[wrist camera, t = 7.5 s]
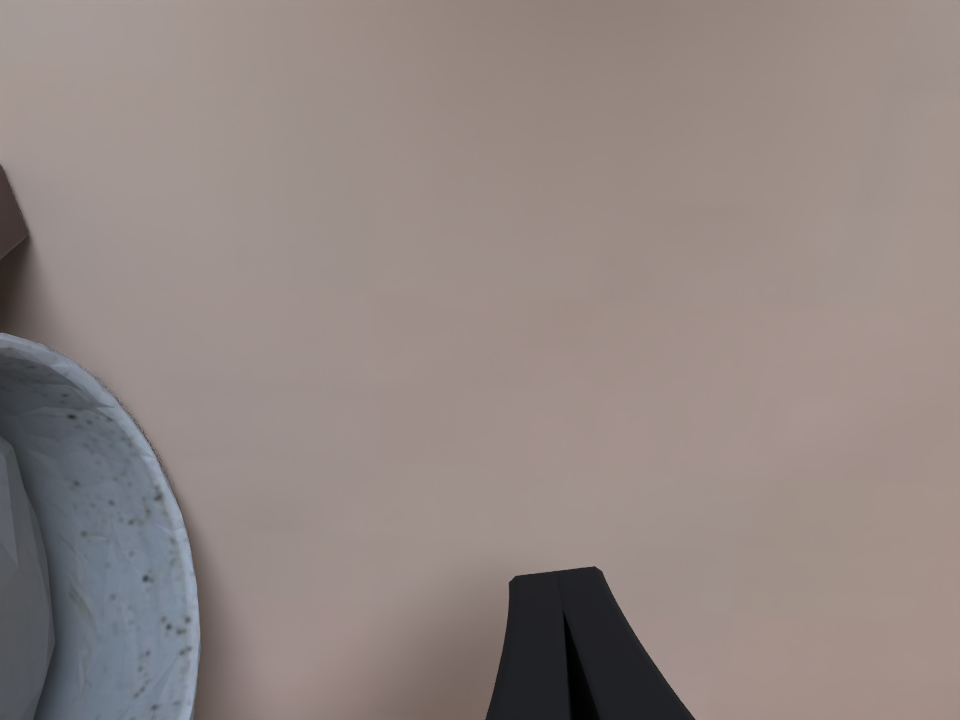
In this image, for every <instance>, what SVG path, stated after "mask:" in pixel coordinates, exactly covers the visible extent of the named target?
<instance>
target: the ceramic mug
mask: <svg viewBox="0 0 960 720" xmlns="http://www.w3.org/2000/svg"><path fill="white" fill-rule="evenodd" d="M200 621H201V618H200V611H199V603H198V596H197V576H196V572H195V568H194V564H193V560H192V555H191V549H190V543H189V537H188V533H187V530H186V527H185V524H184V521H183V517H182V514H181V511H180V509H179V506H178V504H177V501H176V498H175V496H174V493H173V491H172V488H171V486H170V483H169V481H168V479H167V477H166V475H165V473H164V471H163V469H162V467H161V465H160V463H159V461H158V460H157V458H156V456H155V454H154V452H153V450H152V448H151V446H150V445H149V443H148V441H147V439H146V438H145V436H144V435H143V433H142V432H141V431H140V429H139V428H138V426H137V425H136V423H135V422H134V420H133V419H132V417H131V416H130V414H129V413H128V412H127V411H126V410H125V409H124V408H123V407H122V406H121V404H120V403H119V401H118V400H117V398H116V397H115V396H114V395H113V394H112V393H111V392H110V391H109V390H108V389H107V388H106V387H104V386H103V385H102V384H101V383H100V382H99V381H98V380H97V379H95V378H94V377H93V376H92V375H91V374H90V373H89V372H87V371H86V370H85V369H84V368H83V367H82V366H81V365H79V364H77V363H75V362H74V361H72V360H70V359H68V358H67V357H65V356H63V355H61V354H59V353H58V352H56V351H54V350H52V349H50V348H48V347H47V346H45V345H43V344H41V343H39V342H36V341H32V340H28V339H24V338H20V337H16V336H13V335H9V334H6V333H0V720H194V708H195V697H196V691H197V682H198V671H199V663H200V655H201V641H200Z"/></svg>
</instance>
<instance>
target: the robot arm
mask: <svg viewBox="0 0 960 720" xmlns="http://www.w3.org/2000/svg"><path fill="white" fill-rule="evenodd" d="M485 720H695V718H694V717H693V716H692V715H691V713H690V712H689V711H688V709H687V708H686V707H685V706H684V704H683V703H682V702H681V700H680V699H679V698H678V696H677V695H676V693H675V692H674V691H673V689H672V688H671V687H670V685H669V684H668V683H667V681H666V680H665V678H664V677H663V675H662V674H661V672H660V671H659V669H658V668H657V667H656V665H655V664H654V662H653V661H652V659H651V658H650V656H649V655H648V653H647V652H646V650H645V649H644V647H643V646H642V644H641V643H640V641H639V640H638V638H637V636H636V635H635V633H634V631H633V630H632V628H631V626H630V625H629V623H628V621H627V620H626V618H625V616H624V615H623V613H622V611H621V609H620V607H619V606H618V604H617V602H616V600H615V598H614V596H613V594H612V592H611V590H610V588H609V586H608V584H607V582H606V580H605V577H604V575H603V572H602V571H601V570H599V569H598V568H596V567H595V566H594V567H586V568H578V569H569V570H561V571H553V572H545V573H536V574H528V575H520V576H515V577H514V578H513V579H512V580H511V581H510V582H509V610H508V620H507V627H506V633H505V639H504V645H503V651H502V656H501V660H500V664H499V669H498V673H497V678H496V682H495V686H494V691H493V695H492V699H491V702H490V706H489V709H488V712H487V716H486V719H485Z"/></svg>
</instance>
